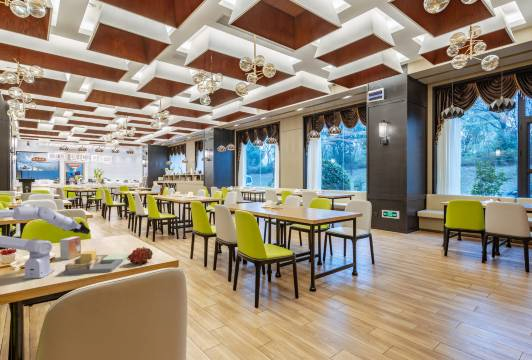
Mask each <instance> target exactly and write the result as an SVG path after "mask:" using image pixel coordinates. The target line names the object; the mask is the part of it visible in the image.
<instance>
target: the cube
mask: <svg viewBox="0 0 532 360" xmlns="http://www.w3.org/2000/svg"><path fill="white" fill-rule="evenodd" d="M96 255H97V250H85V251H83V252H81V254H80V256H79V257H81V264H88V263H89V262H91V261H92V260H94V259H95V258H96Z"/></svg>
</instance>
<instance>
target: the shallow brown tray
mask: <svg viewBox="0 0 532 360" xmlns="http://www.w3.org/2000/svg"><path fill="white" fill-rule="evenodd" d="M99 255H100V256H98V257H97V258H95V259H94V260H92V261H91V262H89V263H88V264H79V263H81V257H80V256H78V257H76V258H75V259H74V260H72V261H70V262H68V263H66V264H65V265H64V268H65V269H64V271H72V270H89V269H91V268H92V267H93V266H95V265H96V264H98V263H99V262H100V261H102V260H103V255H104V254H99Z"/></svg>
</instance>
